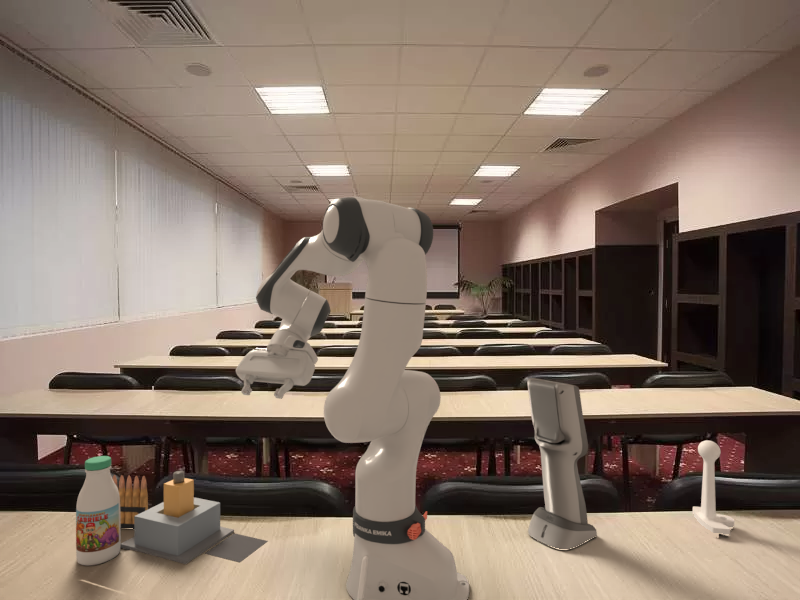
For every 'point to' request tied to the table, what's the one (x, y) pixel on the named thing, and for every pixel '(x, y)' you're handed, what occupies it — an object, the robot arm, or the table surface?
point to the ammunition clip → (131, 500)
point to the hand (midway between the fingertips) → (261, 395)
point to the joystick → (710, 492)
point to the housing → (178, 532)
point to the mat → (236, 547)
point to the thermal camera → (559, 464)
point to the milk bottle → (98, 514)
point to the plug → (178, 495)
